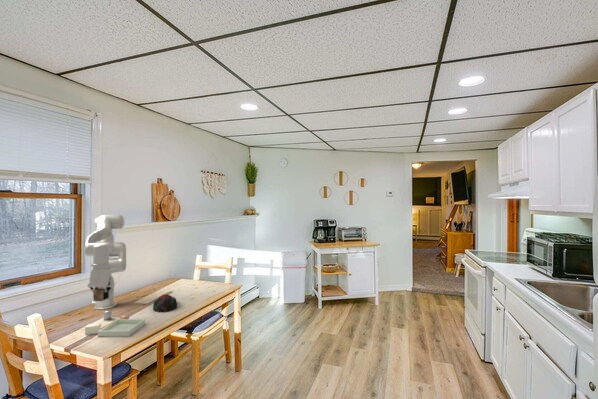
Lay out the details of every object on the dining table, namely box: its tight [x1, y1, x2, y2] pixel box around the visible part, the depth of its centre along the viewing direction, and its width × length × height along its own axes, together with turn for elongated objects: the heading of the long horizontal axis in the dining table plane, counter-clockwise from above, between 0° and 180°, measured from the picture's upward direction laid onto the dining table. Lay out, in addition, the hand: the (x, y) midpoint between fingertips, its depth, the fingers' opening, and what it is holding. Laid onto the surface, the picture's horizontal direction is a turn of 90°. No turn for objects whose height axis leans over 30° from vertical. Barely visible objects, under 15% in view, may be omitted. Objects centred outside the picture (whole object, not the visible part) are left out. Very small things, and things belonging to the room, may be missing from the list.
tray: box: [97, 318, 146, 337], centre depth 160 cm, size 16×16×3 cm
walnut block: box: [93, 288, 108, 301], centre depth 167 cm, size 5×5×6 cm
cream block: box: [84, 322, 102, 336], centre depth 157 cm, size 6×4×4 cm, turn 109°
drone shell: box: [152, 294, 178, 313], centre depth 197 cm, size 21×20×8 cm
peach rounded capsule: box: [119, 314, 130, 319], centre depth 172 cm, size 4×4×3 cm
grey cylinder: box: [103, 309, 113, 321], centre depth 176 cm, size 4×4×5 cm
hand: (101, 298), depth 167 cm, fingers closed on walnut block, 5 cm apart
